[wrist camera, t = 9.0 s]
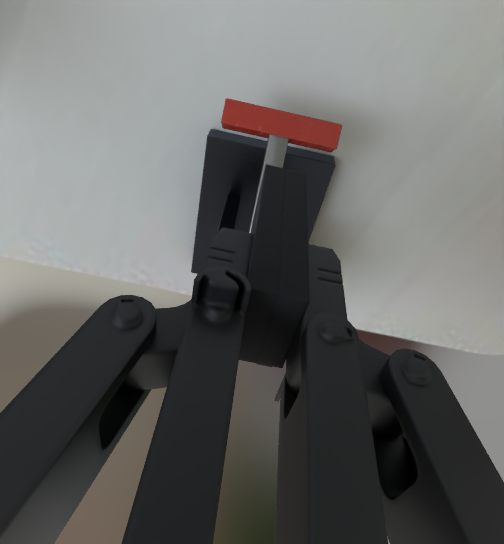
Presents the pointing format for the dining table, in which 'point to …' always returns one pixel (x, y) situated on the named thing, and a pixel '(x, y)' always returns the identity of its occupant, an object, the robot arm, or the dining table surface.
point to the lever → (279, 131)
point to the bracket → (247, 186)
